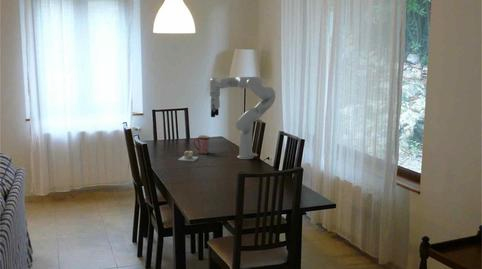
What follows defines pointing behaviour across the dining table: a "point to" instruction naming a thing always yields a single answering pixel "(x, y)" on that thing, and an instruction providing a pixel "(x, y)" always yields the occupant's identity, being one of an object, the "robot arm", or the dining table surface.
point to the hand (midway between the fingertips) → (214, 116)
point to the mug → (202, 144)
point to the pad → (188, 159)
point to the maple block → (188, 154)
